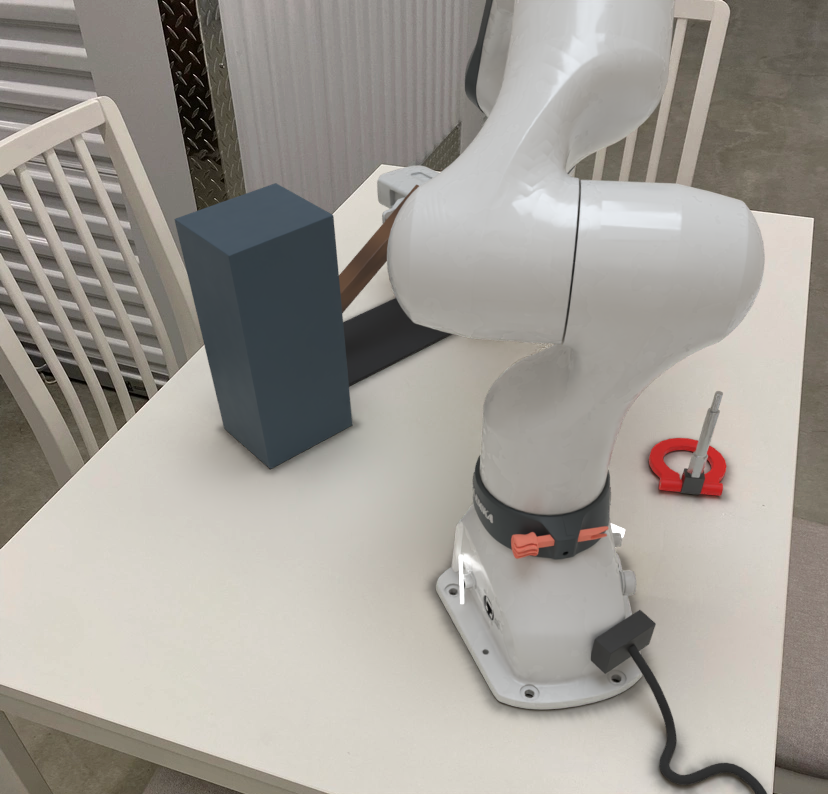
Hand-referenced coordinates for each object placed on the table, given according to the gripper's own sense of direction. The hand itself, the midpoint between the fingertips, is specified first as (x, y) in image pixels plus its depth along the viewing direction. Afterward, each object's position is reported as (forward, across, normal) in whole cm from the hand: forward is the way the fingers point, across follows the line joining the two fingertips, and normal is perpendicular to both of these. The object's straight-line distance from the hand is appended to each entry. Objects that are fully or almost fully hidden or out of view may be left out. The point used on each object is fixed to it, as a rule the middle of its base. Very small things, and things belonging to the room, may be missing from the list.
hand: (395, 226), depth 103 cm
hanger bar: (+4, 0, +4) cm, 5 cm away
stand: (+24, +8, +14) cm, 29 cm away
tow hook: (-5, +44, +15) cm, 47 cm away
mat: (+5, 0, +14) cm, 15 cm away
